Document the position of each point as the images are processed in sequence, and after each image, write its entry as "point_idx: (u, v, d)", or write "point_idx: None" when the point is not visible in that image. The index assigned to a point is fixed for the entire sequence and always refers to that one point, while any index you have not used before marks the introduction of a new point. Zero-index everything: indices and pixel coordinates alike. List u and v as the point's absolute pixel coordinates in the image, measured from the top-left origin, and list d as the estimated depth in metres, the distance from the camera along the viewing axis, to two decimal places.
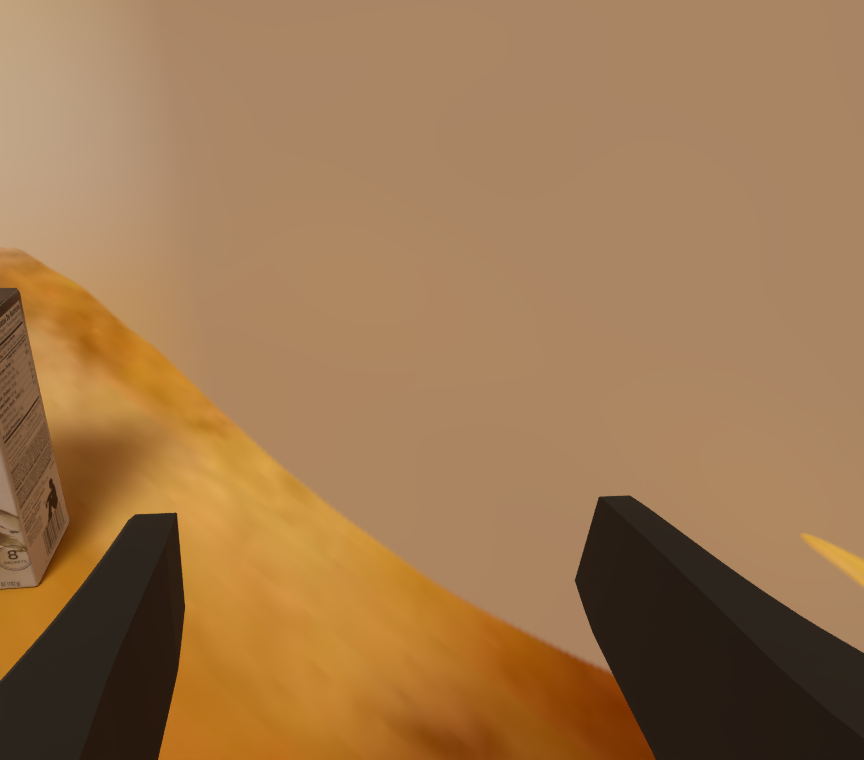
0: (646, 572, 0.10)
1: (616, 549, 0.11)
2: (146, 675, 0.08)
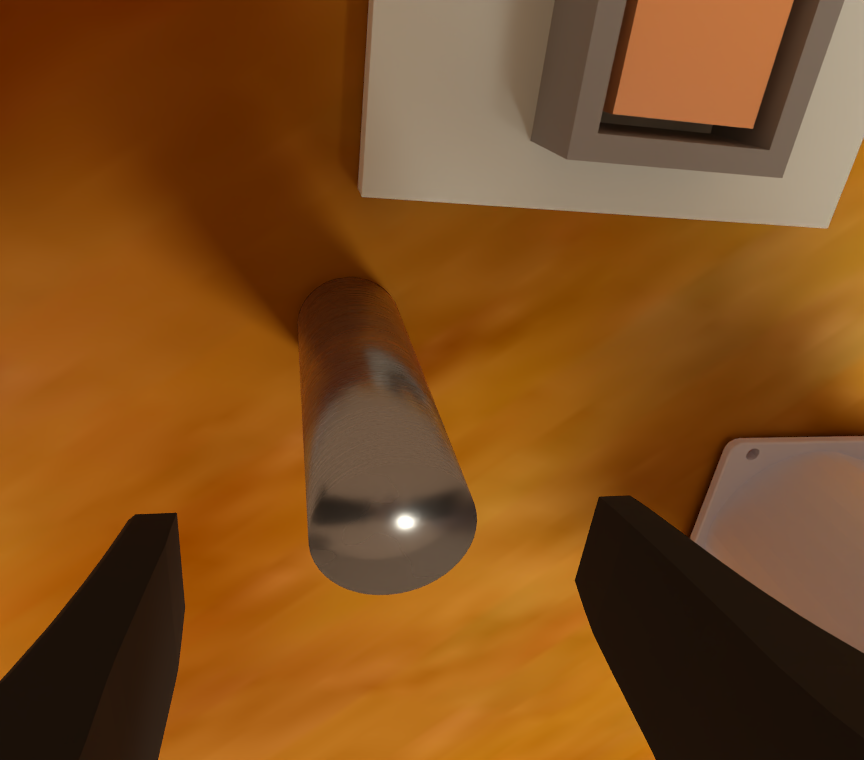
0: (646, 572, 0.10)
1: (616, 549, 0.11)
2: (146, 675, 0.08)
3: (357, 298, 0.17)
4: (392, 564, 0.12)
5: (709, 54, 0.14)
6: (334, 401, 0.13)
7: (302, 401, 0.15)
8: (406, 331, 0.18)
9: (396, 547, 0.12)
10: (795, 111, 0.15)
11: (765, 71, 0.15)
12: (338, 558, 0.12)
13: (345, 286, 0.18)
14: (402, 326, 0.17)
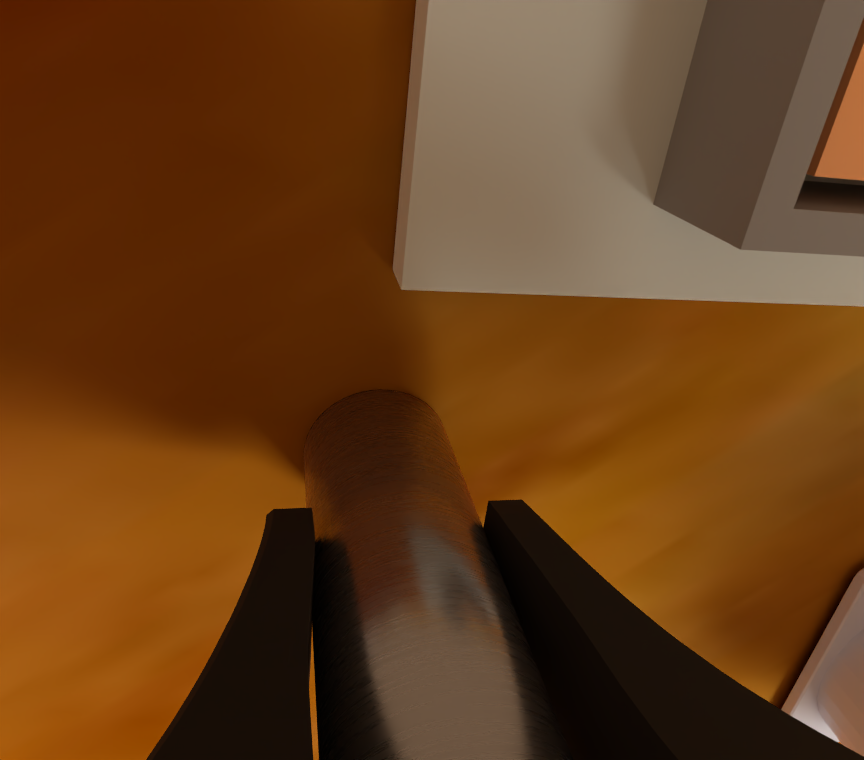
0: (522, 581, 0.10)
1: (500, 556, 0.11)
2: (307, 661, 0.09)
3: (392, 434, 0.12)
4: None
5: None
6: (372, 689, 0.08)
7: (314, 634, 0.09)
8: None
9: None
10: None
11: None
12: None
13: (373, 409, 0.12)
14: (459, 474, 0.12)
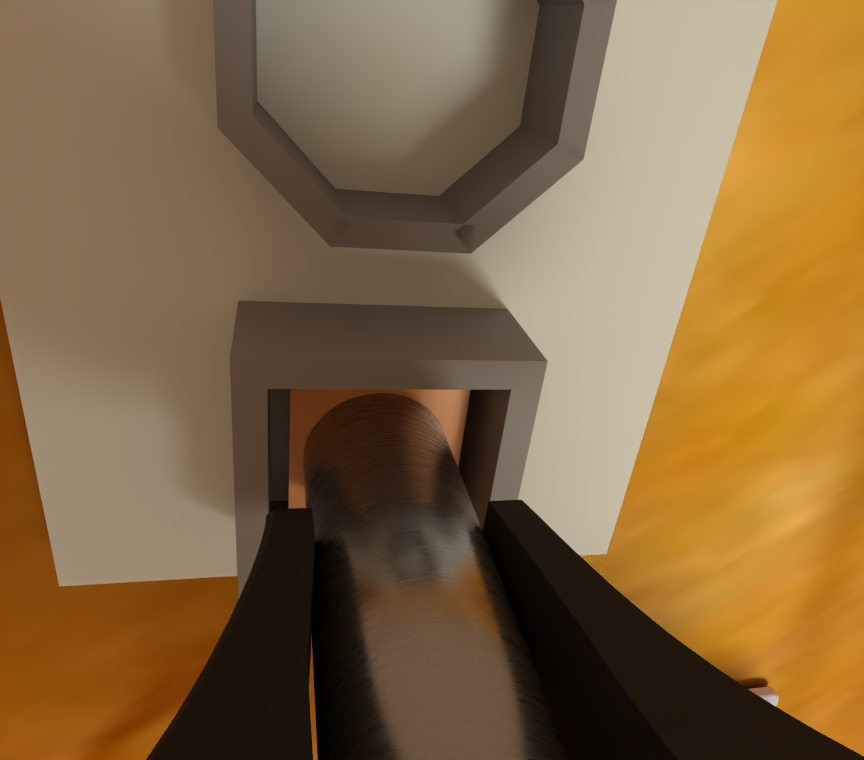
0: (522, 580, 0.10)
1: (500, 556, 0.11)
2: (307, 661, 0.09)
3: (397, 437, 0.12)
4: None
5: None
6: (377, 690, 0.08)
7: (314, 633, 0.09)
8: None
9: None
10: None
11: None
12: None
13: (377, 411, 0.12)
14: (461, 480, 0.12)
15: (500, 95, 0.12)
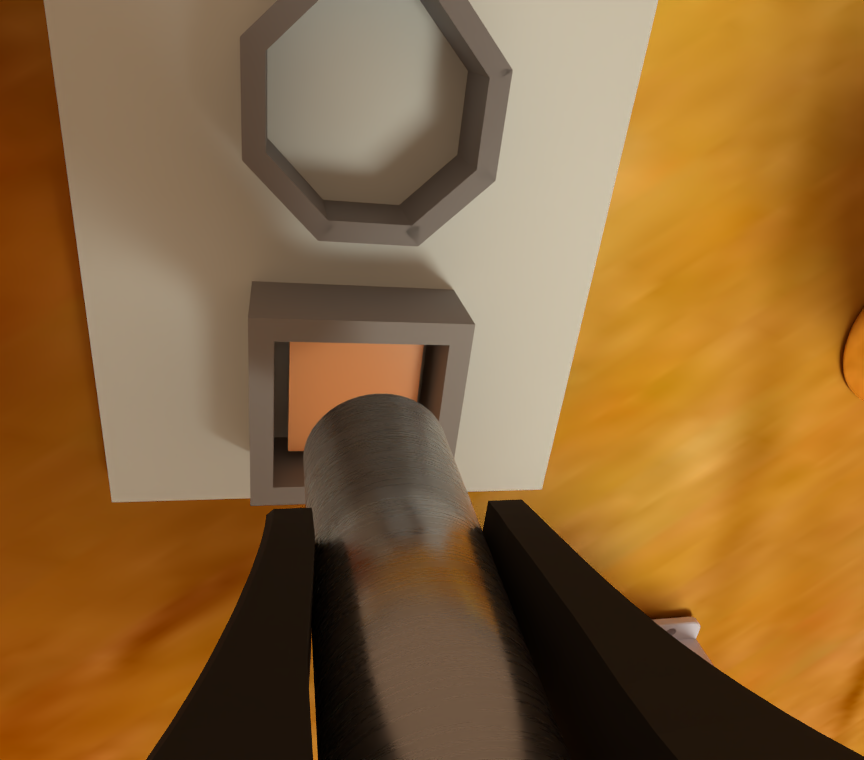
0: (522, 580, 0.10)
1: (500, 556, 0.11)
2: (307, 661, 0.09)
3: (397, 437, 0.12)
4: None
5: None
6: (378, 690, 0.08)
7: (315, 634, 0.09)
8: None
9: None
10: None
11: None
12: None
13: (378, 412, 0.12)
14: (461, 481, 0.12)
15: (442, 133, 0.17)
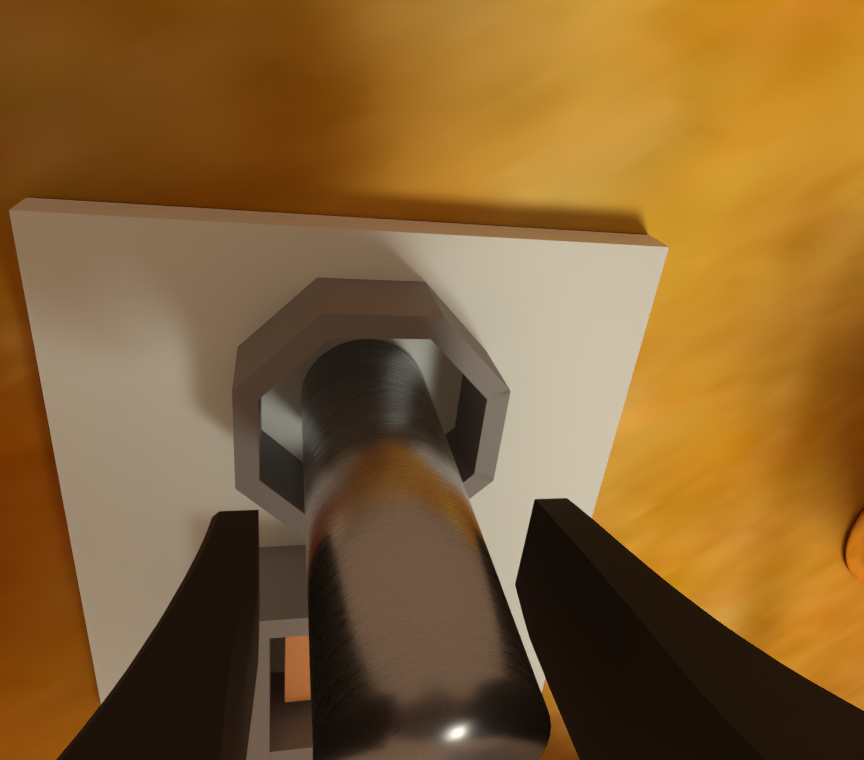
0: (574, 577, 0.10)
1: (549, 553, 0.11)
2: (244, 666, 0.09)
3: (379, 371, 0.14)
4: None
5: None
6: (354, 538, 0.10)
7: (307, 515, 0.11)
8: None
9: None
10: None
11: None
12: None
13: (364, 352, 0.15)
14: (433, 409, 0.14)
15: (439, 411, 0.17)
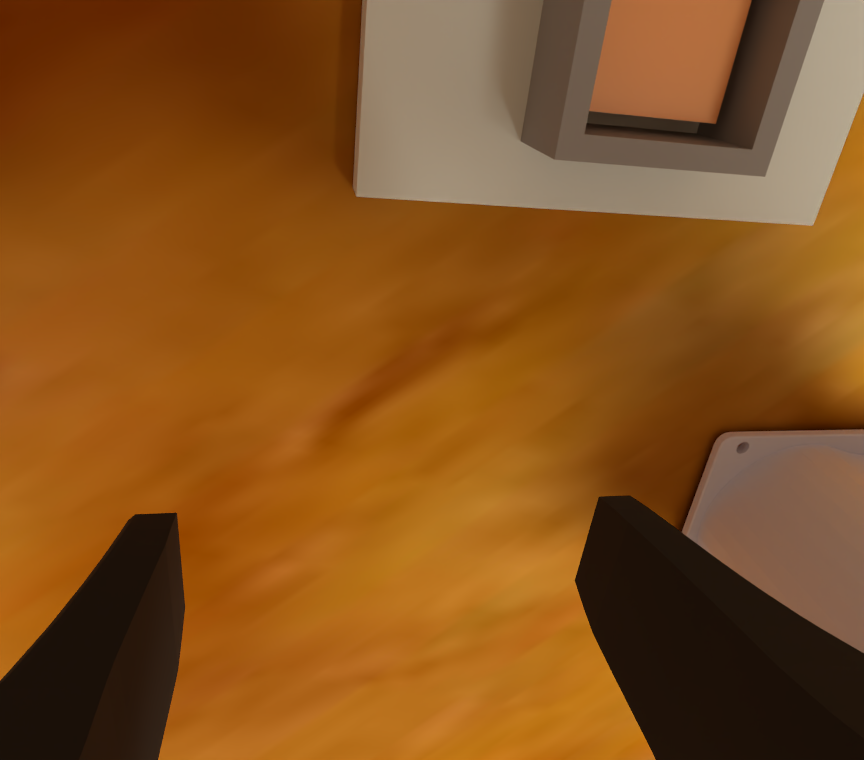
0: (646, 572, 0.10)
1: (616, 549, 0.11)
2: (146, 675, 0.08)
3: None
4: None
5: (673, 54, 0.16)
6: None
7: None
8: None
9: None
10: (777, 111, 0.16)
11: (726, 70, 0.16)
12: None
13: None
14: None
15: None
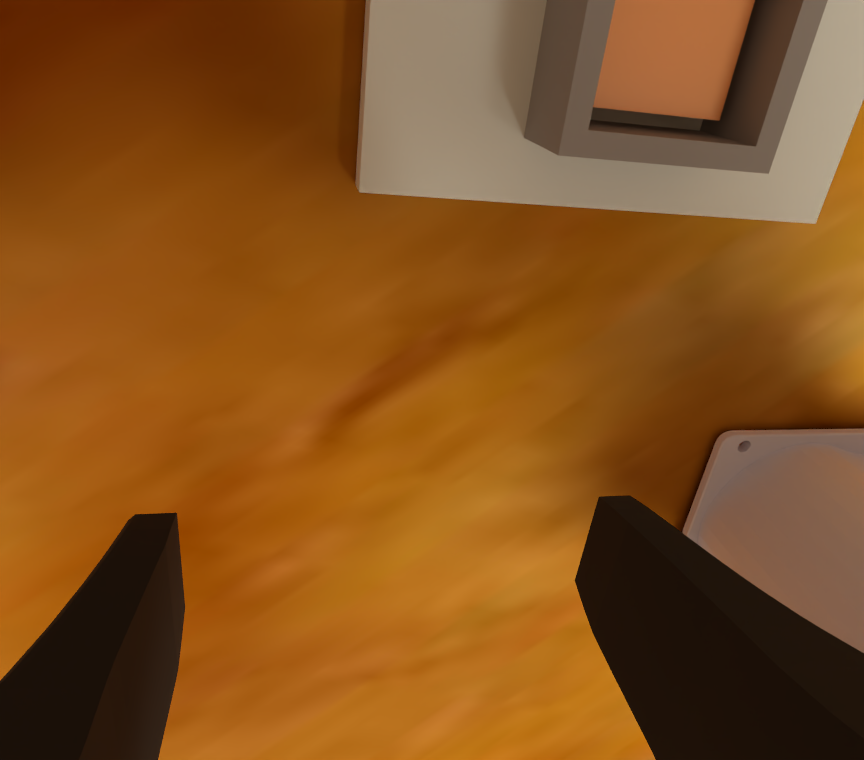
0: (646, 572, 0.10)
1: (616, 549, 0.11)
2: (146, 675, 0.08)
3: None
4: None
5: (677, 51, 0.16)
6: None
7: None
8: None
9: None
10: (780, 108, 0.16)
11: (730, 67, 0.16)
12: None
13: None
14: None
15: None
